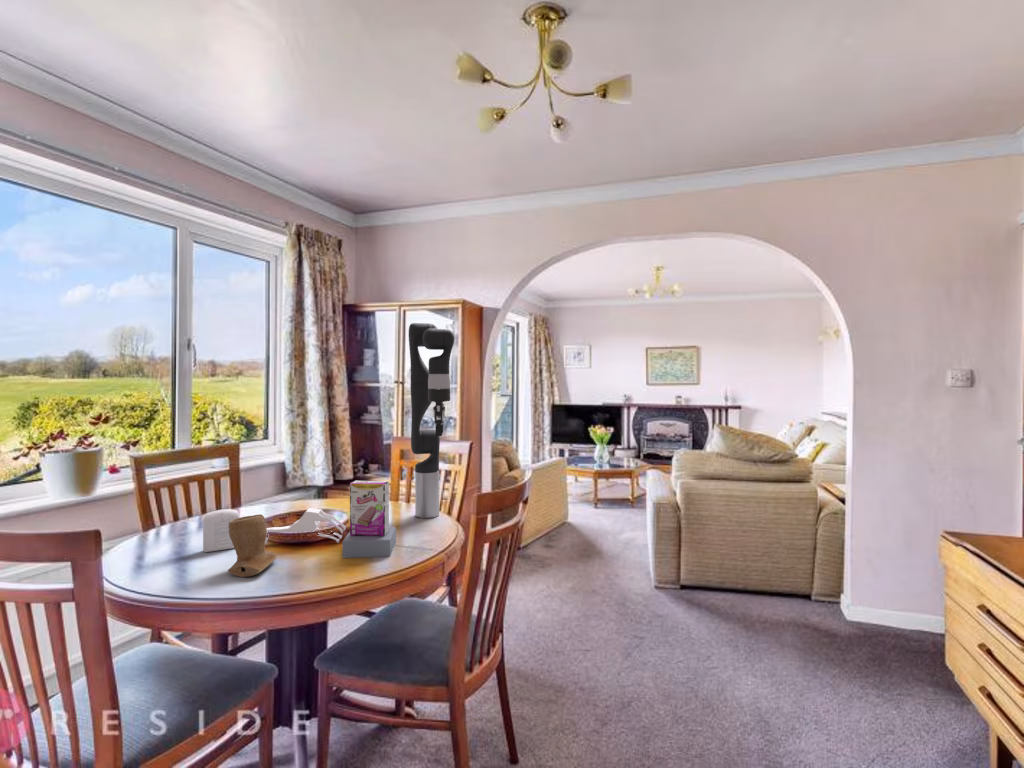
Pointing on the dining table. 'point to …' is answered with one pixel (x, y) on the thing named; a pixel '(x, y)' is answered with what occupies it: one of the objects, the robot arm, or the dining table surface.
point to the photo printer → (218, 530)
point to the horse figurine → (310, 523)
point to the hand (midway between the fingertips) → (439, 434)
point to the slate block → (369, 545)
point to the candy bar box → (369, 508)
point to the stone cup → (249, 545)
